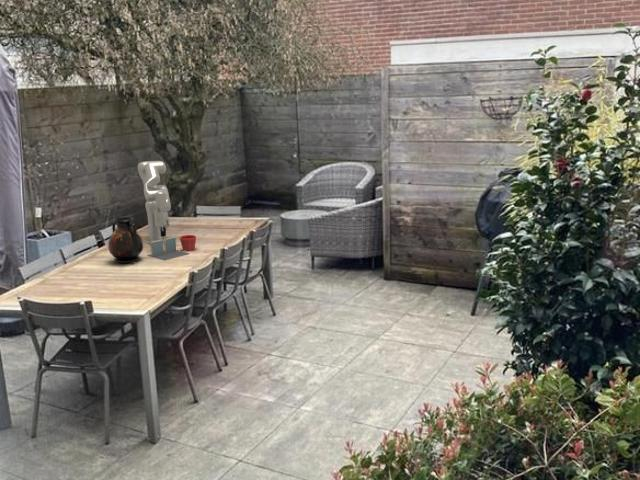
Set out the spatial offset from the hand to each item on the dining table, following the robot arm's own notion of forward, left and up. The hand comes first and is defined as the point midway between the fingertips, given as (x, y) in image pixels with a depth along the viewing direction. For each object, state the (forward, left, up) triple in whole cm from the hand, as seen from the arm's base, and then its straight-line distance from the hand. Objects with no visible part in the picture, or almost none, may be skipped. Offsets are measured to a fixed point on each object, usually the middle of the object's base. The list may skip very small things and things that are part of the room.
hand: (163, 236), depth 409 cm
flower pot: (+11, +12, -11) cm, 20 cm away
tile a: (+6, 0, -10) cm, 12 cm away
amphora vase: (+1, -30, -11) cm, 32 cm away
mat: (+11, -5, -11) cm, 16 cm away
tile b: (+6, -10, -10) cm, 16 cm away
